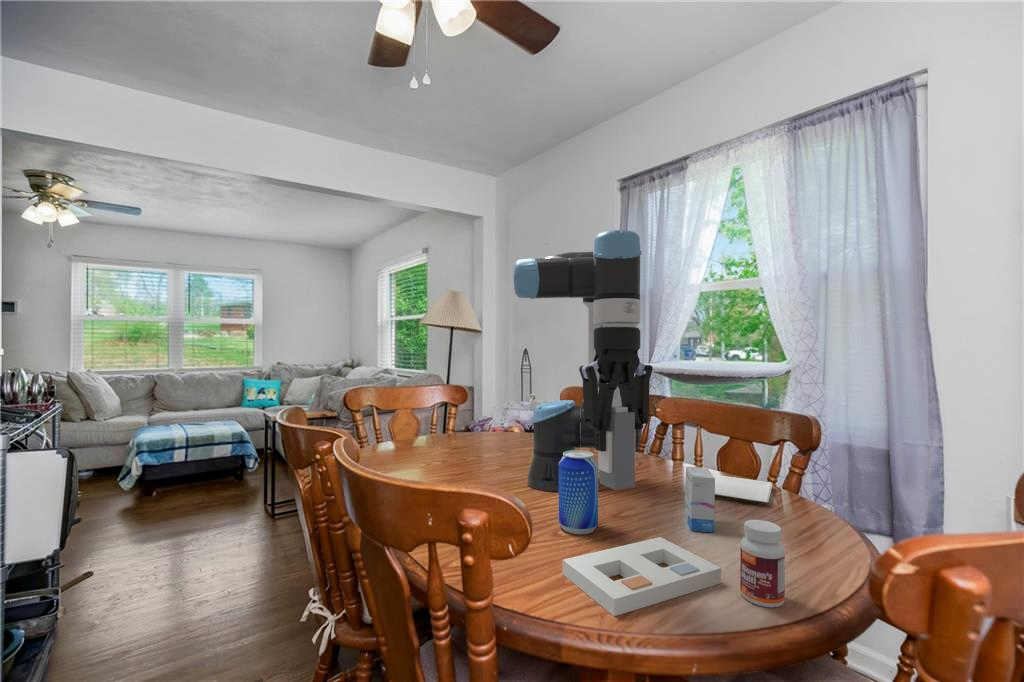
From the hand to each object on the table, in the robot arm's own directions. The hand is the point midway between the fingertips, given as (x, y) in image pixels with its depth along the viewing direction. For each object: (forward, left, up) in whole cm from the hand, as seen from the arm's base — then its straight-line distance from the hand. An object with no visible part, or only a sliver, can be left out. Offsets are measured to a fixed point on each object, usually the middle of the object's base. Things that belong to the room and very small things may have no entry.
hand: (616, 469), depth 77 cm
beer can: (-23, +8, -19) cm, 31 cm away
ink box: (-13, +33, -19) cm, 41 cm away
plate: (-26, +59, -20) cm, 68 cm away
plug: (0, 0, -3) cm, 3 cm away
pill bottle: (+13, +18, -19) cm, 29 cm away
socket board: (0, +5, -19) cm, 20 cm away
